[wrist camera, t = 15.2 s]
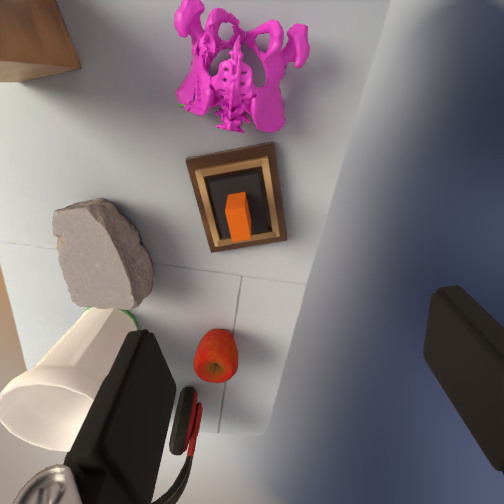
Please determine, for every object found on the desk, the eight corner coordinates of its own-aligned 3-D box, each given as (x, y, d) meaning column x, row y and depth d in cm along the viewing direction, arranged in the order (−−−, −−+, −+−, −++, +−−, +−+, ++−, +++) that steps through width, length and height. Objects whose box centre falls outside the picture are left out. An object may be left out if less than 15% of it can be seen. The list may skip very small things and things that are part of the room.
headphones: (102, 398, 55) (34, 543, 38) (103, 359, 51) (26, 505, 33) (199, 411, 58) (177, 555, 40) (208, 376, 53) (188, 521, 35)
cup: (156, 354, 50) (122, 452, 37) (79, 353, 50) (17, 452, 37) (145, 292, 44) (100, 382, 31) (58, 291, 44) (-26, 381, 31)
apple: (232, 315, 47) (229, 353, 40) (244, 344, 49) (243, 384, 43) (193, 324, 47) (184, 363, 41) (207, 352, 50) (201, 392, 44)
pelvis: (177, 114, 33) (161, 121, 27) (184, 4, 29) (167, -16, 23) (285, 136, 34) (292, 146, 29) (308, 33, 30) (322, 21, 24)
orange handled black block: (210, 179, 35) (202, 197, 30) (258, 170, 35) (260, 187, 29) (223, 233, 39) (219, 259, 33) (267, 226, 38) (270, 250, 33)
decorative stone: (118, 296, 45) (177, 274, 43) (96, 330, 39) (162, 306, 37) (49, 209, 39) (113, 178, 37) (9, 233, 33) (83, 197, 30)
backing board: (187, 157, 35) (183, 161, 33) (273, 141, 35) (274, 144, 33) (212, 248, 41) (210, 256, 39) (286, 236, 40) (288, 243, 38)
